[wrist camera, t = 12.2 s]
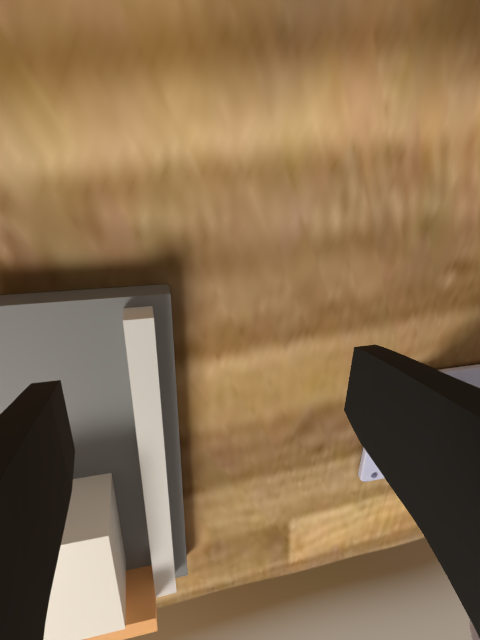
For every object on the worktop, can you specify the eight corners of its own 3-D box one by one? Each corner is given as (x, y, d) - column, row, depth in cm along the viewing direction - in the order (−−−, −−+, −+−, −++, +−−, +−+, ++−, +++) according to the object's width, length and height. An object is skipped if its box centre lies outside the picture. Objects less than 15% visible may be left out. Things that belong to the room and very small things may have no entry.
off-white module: (111, 472, 21) (108, 535, 18) (125, 561, 24) (125, 628, 21) (25, 486, 20) (6, 555, 17) (52, 577, 23) (39, 650, 20)
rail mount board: (168, 283, 18) (177, 324, 15) (185, 557, 27) (194, 626, 23) (-116, 303, 16) (-189, 357, 12) (-1, 597, 24) (-24, 682, 21)
